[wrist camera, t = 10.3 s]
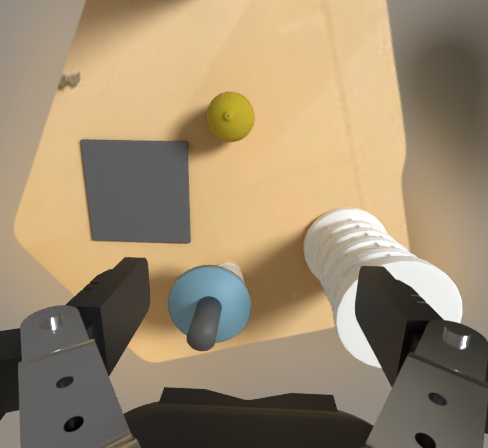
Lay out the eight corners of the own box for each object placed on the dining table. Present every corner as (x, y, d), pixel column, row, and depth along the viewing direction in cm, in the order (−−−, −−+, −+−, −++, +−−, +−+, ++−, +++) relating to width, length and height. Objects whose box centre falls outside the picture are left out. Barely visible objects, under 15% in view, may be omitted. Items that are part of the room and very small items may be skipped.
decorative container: (317, 293, 47) (352, 386, 30) (292, 223, 44) (315, 282, 27) (394, 268, 46) (478, 351, 28) (373, 194, 43) (452, 237, 26)
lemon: (223, 148, 42) (216, 151, 34) (204, 107, 40) (192, 102, 33) (261, 129, 41) (262, 129, 33) (243, 87, 40) (240, 77, 32)
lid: (168, 264, 38) (149, 293, 31) (251, 266, 38) (250, 296, 31) (173, 335, 41) (156, 377, 34) (250, 337, 41) (249, 380, 34)
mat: (83, 139, 42) (80, 139, 42) (187, 141, 42) (186, 141, 41) (95, 238, 46) (93, 240, 46) (190, 241, 46) (189, 243, 45)
